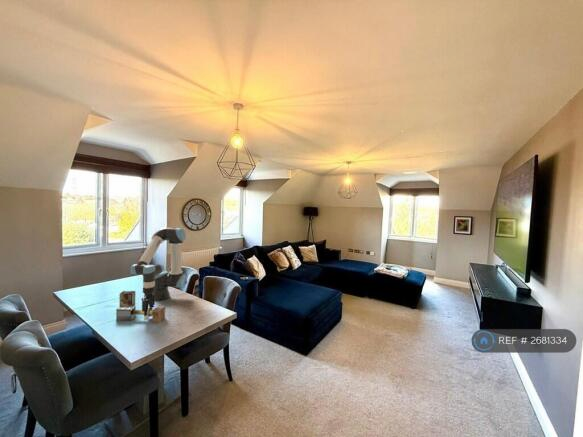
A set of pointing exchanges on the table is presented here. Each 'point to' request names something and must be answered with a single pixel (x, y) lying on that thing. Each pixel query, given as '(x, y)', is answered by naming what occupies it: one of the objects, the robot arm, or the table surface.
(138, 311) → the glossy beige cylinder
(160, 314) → the tan box
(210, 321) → the table surface
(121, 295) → the coffee box
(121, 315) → the sleeve
